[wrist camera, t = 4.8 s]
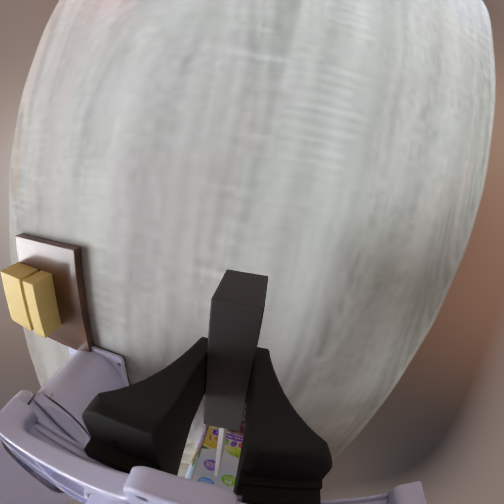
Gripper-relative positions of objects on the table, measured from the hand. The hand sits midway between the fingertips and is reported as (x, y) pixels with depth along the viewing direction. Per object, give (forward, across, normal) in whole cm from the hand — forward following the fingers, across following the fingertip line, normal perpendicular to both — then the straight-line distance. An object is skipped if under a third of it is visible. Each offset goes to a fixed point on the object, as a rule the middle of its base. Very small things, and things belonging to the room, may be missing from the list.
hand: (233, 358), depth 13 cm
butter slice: (+7, +20, +5) cm, 22 cm away
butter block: (+7, +24, +5) cm, 25 cm away
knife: (+2, 0, +4) cm, 4 cm away
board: (+8, +21, +5) cm, 23 cm away
